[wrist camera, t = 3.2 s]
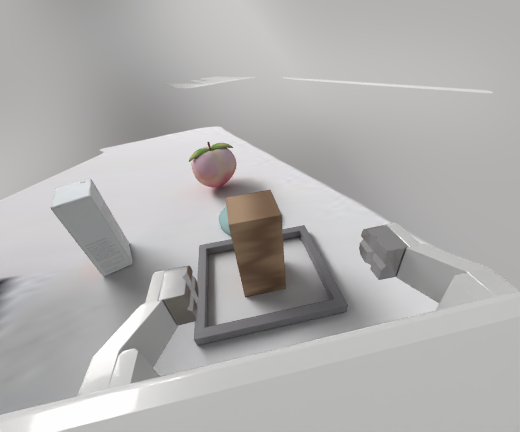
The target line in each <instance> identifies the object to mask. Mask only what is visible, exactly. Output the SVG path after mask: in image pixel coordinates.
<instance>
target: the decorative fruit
mask: <svg viewBox="0 0 520 432" xmlns="http://www.w3.org/2000/svg"><path fill="white" fill-rule="evenodd" d="M227 148H233V147H232V146H230V145H229V144H226V143H217V144H215V145H213V146H210V144H209V142H208V146H207V147H204V148H202V149H199V150H197V151H195V152H194V153H193V154H192V156H191V157H190V160H189V162H190V161H191V160H192V162H191V166H192V170H193V173H194V175H195V177H196V178H197V180H198V181H199V182H200V183H202V184H204V185H206V186H209V187H220V186H223V185H224V184H225V183H227V182H228V181H229V180H230V178H231V177H232V175H233V174H234V172H235V169H236V159H235V157H234V155H233V153H232V152H231V151H230V150H229V149H227Z"/></svg>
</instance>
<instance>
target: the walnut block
mask: <svg viewBox="0 0 520 432" xmlns="http://www.w3.org/2000/svg"><path fill="white" fill-rule="evenodd" d="M226 205H227V215H228V225H229V229H230V233H231V238H232V242H233V246H234V251H235V255H236V259H237V264H238V268H239V272H240V277H241V281H242V286H243V290H244V294H245V297H248V296H252V295H257V294H262V293H266V292H271V291H276V290H280V289H285V288H286V283H285V267H284V250H283V233H282V217H281V213H280V211H279V208H278V206H277V204H276V201H275V199H274V197H273V195H272V192H271V190H266V191H260V192H255V193H249V194H243V195H238V196H232V197H227V198H226Z"/></svg>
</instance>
